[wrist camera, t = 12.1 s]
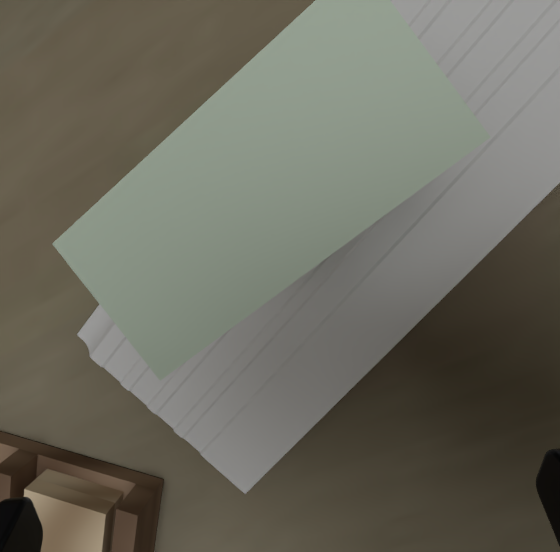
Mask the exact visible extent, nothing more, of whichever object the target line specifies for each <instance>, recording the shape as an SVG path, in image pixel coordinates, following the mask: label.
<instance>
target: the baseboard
mask: <svg viewBox="0 0 560 552" xmlns="http://www.w3.org/2000/svg"><path fill="white" fill-rule="evenodd" d="M390 1H391V2H392V4H393V5H394V6H395V8H396V9H397V10H398V12H399V13H400V14H401V16H402V17H403V19H404V20H405V21H406V23H407V24H408V25H409V27H410V28H411V29H412V31H413V32H414V34H415V35H416V36H417V38H418V39H419V40H420V42H421V43H422V44H423V46H424V47H425V48H426V50H427V51H428V53H429V54H430V55H431V57H432V58H433V59H434V61H435V62H436V63H437V65H438V66H439V67H440V69H441V70H442V72H443V73H444V74H445V76H446V77H447V78H448V80H449V81H450V82H451V84H452V85H453V87H454V88H455V89H456V91H457V92H458V93H459V95H460V96H461V97H462V99H463V100H464V101H465V103H466V104H467V106H468V107H469V108H470V110H471V111H472V112H473V114H474V115H475V116H476V118H477V119H478V121H479V122H480V123H481V125H482V126H483V127H484V129H485V130H486V131H487V133H488V134H489V135H490V138H489V139H488V140H486V141H485V142H484V143H482V144H481V145H480V146H478V147H477V148H475V149H474V150H473V151H471V152H470V153H469V154H467V155H466V156H465V157H463V158H462V159H461V160H459V161H458V162H456V163H455V164H454V165H452V166H451V167H450V168H448V169H447V170H446V171H444V172H443V173H442V174H440V175H439V176H437V177H436V178H435V179H433V180H432V181H431V182H429V183H428V184H427V185H425V186H424V187H423V188H421V189H420V190H418V191H417V192H416V193H414V194H413V195H412V196H410V197H409V198H408V199H406V200H405V201H404V202H402V203H401V204H399V205H398V206H397V207H395V208H394V209H393V210H391V211H390V212H389V213H387V214H386V215H385V216H383V217H382V218H380V219H379V220H378V221H376V222H375V223H374V224H372V225H371V226H370V227H368V228H367V229H366V230H364V231H363V232H361V233H360V234H359V235H357V236H356V237H355V238H353V239H352V240H351V241H349V242H348V243H347V244H345V245H344V246H342V247H341V248H340V249H338V250H337V251H336V252H334V253H333V254H332V255H330V256H329V257H328V258H326V259H325V260H323V261H322V262H321V263H319V264H318V265H317V266H315V267H314V268H313V269H311V270H310V271H309V272H307V273H306V274H304V275H303V276H302V277H300V278H299V279H298V280H296V281H295V282H294V283H292V284H291V285H289V286H288V287H287V288H285V289H284V290H283V291H281V292H280V293H279V294H277V295H276V296H275V297H273V298H272V299H270V300H269V301H268V302H266V303H265V304H264V305H262V306H261V307H260V308H258V309H257V310H256V311H254V312H253V313H251V314H250V315H249V316H247V317H246V318H245V319H243V320H242V321H241V322H239V323H238V324H237V325H235V326H234V327H232V328H231V329H230V330H228V331H227V332H226V333H224V334H223V335H222V336H220V337H219V338H218V339H216V340H215V341H213V342H212V343H211V344H209V345H208V346H207V347H205V348H204V349H203V350H201V351H200V352H199V353H197V354H196V355H194V356H193V357H192V358H190V359H189V360H188V361H186V362H185V363H184V364H182V365H181V366H180V367H178V368H177V369H175V370H174V371H173V372H171V373H170V374H169V375H167V376H166V377H165V378H163V379H162V380H161V381H160V380H159V379H158V378H157V376H156V375H155V374H154V372H153V371H152V370H151V369H150V367H149V366H148V365H147V364H146V362H145V361H144V360H143V359H142V357H141V356H140V355H139V353H138V352H137V351H136V350H135V348H134V347H133V346H132V345H131V343H130V342H129V341H128V339H127V338H126V337H125V336H124V334H123V333H122V332H121V331H120V329H119V328H118V327H117V325H116V324H115V323H114V322H113V320H112V319H111V318H110V317H109V315H108V314H107V313H106V311H105V310H104V309H103V308H102V306H101V305H100V304H99V306H98V307H97V308H96V310H95V311H94V312H93V314H92V315H91V316H90V318H89V319H88V320H87V322H86V323H85V324H84V326H83V327H82V328H81V330H80V331H79V333H78V334H77V335H78V336H79V337H80V338H81V339H82V340H83V341H84V342H85V343H86V345H87V346H88V349H89V354H90V358H91V359H93V360H94V361H95V362H96V363H97V364H98V365H99V366H101V367H103V368H105V369H106V370H107V371H108V372H109V373H110V374H112V375H113V376H114V377H115V378H116V379H117V380H118V381H119V382H120V384H121V385H122V386H123V387H124V388H125V389H127V390H128V391H131V392H132V393H133V394H134V395H135V396H136V397H138V398H139V399H140V400H141V401H142V402H143V403H144V404H146V405H147V408H148V409H149V410H150V411H152V412H153V413H154V414H156V415H158V416H159V417H160V418H161V419H163V420H164V421H165V422H166V423H167V424H168V425H169V426H170V427H172V428H173V430H174V432H175V433H176V434H178V435H179V436H180V437H181V438H184V439H185V440H186V441H187V442H189V443H190V444H191V445H192V446H193V447H194V448H195V449H197V450H198V451H199V452H200V454H201V456H202V457H204V458H205V459H206V460H207V461H208V462H209V463H210V464H212V465H213V466H214V467H215V468H216V469H217V470H218V471H219V472H221V473H222V474H223V475H224V476H225V477H226V478H227V479H229V480H230V481H231V482H232V483H233V484H234V485H235V486H236V487H238V488H239V489H240V490H241V491H242V492H243V493H244V494H246V493H247V492H248V491H249V490H250V489H251V488H252V487H253V486H254V485H255V484H256V483H257V482H258V481H259V480H260V479H261V478H262V477H263V476H264V475H265V474H266V473H267V472H268V471H269V470H270V469H271V468H272V467H273V466H274V465H275V464H276V463H277V462H278V461H279V460H280V459H281V458H282V457H283V456H284V455H285V454H286V453H287V452H288V451H289V450H290V449H291V448H292V447H293V446H294V445H295V444H296V443H297V442H298V441H299V440H300V439H301V438H302V437H303V436H304V435H305V434H306V433H307V432H308V431H309V430H310V429H311V428H312V427H313V426H314V425H315V424H316V423H317V422H318V421H319V420H320V419H321V418H322V417H323V416H324V415H325V414H326V413H327V412H328V411H330V410H331V409H332V408H333V407H334V406H335V405H336V404H337V403H338V402H339V401H340V400H341V399H342V398H343V397H344V396H345V395H346V394H347V393H348V392H349V391H350V390H351V389H352V388H353V387H354V386H355V385H356V384H357V383H358V382H359V381H360V380H361V379H362V378H363V377H364V376H365V375H366V374H367V373H368V372H369V371H370V370H371V369H372V368H373V367H374V366H375V365H376V364H377V363H378V362H379V361H380V360H381V359H382V358H383V357H384V356H385V355H386V354H387V353H388V352H389V351H390V350H391V349H392V348H393V347H394V346H395V345H396V344H397V343H398V342H399V341H400V340H401V339H402V338H403V337H404V336H405V335H406V334H407V333H408V332H409V331H410V330H411V329H412V328H413V327H414V326H415V325H416V324H417V323H418V322H419V321H420V320H421V319H422V318H423V317H424V316H425V315H426V314H427V313H428V312H429V311H430V310H431V309H432V308H433V307H435V306H436V305H437V304H438V303H439V302H440V301H441V300H442V299H443V298H444V297H445V296H446V295H447V294H448V293H449V292H450V291H451V290H452V289H453V288H454V287H455V286H456V285H457V284H458V283H459V282H460V281H461V280H462V279H463V278H464V277H465V276H466V275H467V274H468V273H469V272H470V271H471V270H472V269H473V268H474V267H475V266H476V265H477V264H478V263H479V262H480V261H481V260H482V259H483V258H484V257H485V256H486V255H487V254H488V253H489V252H490V251H491V250H492V249H493V248H494V247H495V246H496V245H497V244H498V243H499V242H500V241H501V240H502V239H503V238H504V237H505V236H506V235H507V234H508V233H509V232H510V231H511V230H512V229H513V228H514V227H515V226H516V225H517V224H518V223H519V222H520V221H521V220H522V219H523V218H524V217H525V216H526V215H527V214H528V213H529V212H530V211H531V210H532V209H533V208H534V207H535V206H536V205H537V204H539V203H540V202H541V201H542V200H543V199H544V198H545V197H546V196H547V195H548V194H549V193H550V192H551V191H552V190H553V189H554V188H555V187H556V186H557V185H558V184H559V183H560V0H390Z"/></svg>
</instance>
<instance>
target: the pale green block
mask: <svg viewBox="0 0 560 552" xmlns="http://www.w3.org/2000/svg"><path fill="white" fill-rule="evenodd" d="M489 138H490V135H489V134H488V133H487V131H486V130H485V129H484V127H483V126H482V125H481V123H480V122H479V121H478V119H477V118H476V116H475V115H474V114H473V112H472V111H471V110H470V108H469V107H468V106H467V104H466V103H465V101H464V100H463V99H462V97H461V96H460V95H459V93H458V92H457V91H456V89H455V88H454V87H453V85H452V84H451V82H450V81H449V80H448V78H447V77H446V76H445V74H444V73H443V72H442V70H441V69H440V67H439V66H438V65H437V63H436V62H435V61H434V59H433V58H432V57H431V55H430V54H429V53H428V51H427V50H426V48H425V47H424V46H423V44H422V43H421V42H420V40H419V39H418V38H417V36H416V35H415V34H414V32H413V31H412V29H411V28H410V27H409V25H408V24H407V23H406V21H405V20H404V19H403V17H402V16H401V14H400V13H399V12H398V10H397V9H396V8H395V6H394V5H393V4H392V2H391V1H390V0H316V1H314V2H313V3H312V4H311V5H310V6H309V7H308V8H307V9H306V10H305V11H304V12H303V13H301V14H300V15H299V16H298V17H297V18H296V19H295V20H294V21H293V22H292V23H291V24H290V25H288V26H287V27H286V28H285V29H284V30H283V31H282V32H281V33H280V34H279V35H278V36H277V37H275V38H274V39H273V40H272V41H271V42H270V43H269V44H268V45H267V46H266V47H265V48H264V49H262V50H261V51H260V52H259V53H258V54H257V55H256V56H255V57H254V58H253V59H252V60H251V61H249V62H248V63H247V64H246V65H245V66H244V67H243V68H242V69H241V70H240V71H239V72H238V73H237V74H235V75H234V76H233V77H232V78H231V79H230V80H229V81H228V82H227V83H226V84H225V85H224V86H222V87H221V88H220V89H219V90H218V91H217V92H216V93H215V94H214V95H213V96H212V97H211V98H209V99H208V100H207V101H206V102H205V103H204V104H203V105H202V106H201V107H200V108H199V109H198V110H196V111H195V112H194V113H193V114H192V115H191V116H190V117H189V118H188V119H187V120H186V121H185V122H183V123H182V124H181V125H180V126H179V127H178V128H177V129H176V130H175V131H174V132H173V133H172V134H171V135H169V136H168V137H167V138H166V139H165V140H164V141H163V142H162V143H161V144H160V145H159V146H158V147H156V148H155V149H154V150H153V151H152V152H151V153H150V154H149V155H148V156H147V157H146V158H145V159H143V160H142V161H141V162H140V163H139V164H138V165H137V166H136V167H135V168H134V169H133V170H132V171H130V172H129V173H128V174H127V175H126V176H125V177H124V178H123V179H122V180H121V181H120V182H119V183H117V184H116V185H115V186H114V187H113V188H112V189H111V190H110V191H109V192H108V193H107V194H106V195H105V196H103V197H102V198H101V199H100V200H99V201H98V202H97V203H96V204H95V205H94V206H93V207H92V208H90V209H89V210H88V211H87V212H86V213H85V214H84V215H83V216H82V217H81V218H80V219H79V220H77V221H76V222H75V223H74V224H73V225H72V226H71V227H70V228H69V229H68V230H67V231H66V232H64V233H63V234H62V235H61V236H60V237H59V238H58V239H57V240H56V241H55V242H54V243H53V245H54V247H55V248H56V249H57V251H58V252H59V253H60V254H61V256H62V257H63V258H64V259H65V261H66V262H67V263H68V264H69V266H70V267H71V268H72V270H73V271H74V272H75V273H76V275H77V276H78V277H79V278H80V280H81V281H82V282H83V284H84V285H85V286H86V287H87V289H88V290H89V291H90V292H91V294H92V295H93V296H94V298H95V299H96V300H97V301H98V303H99V304H100V305H101V306H102V308H103V309H104V310H105V311H106V313H107V314H108V315H109V317H110V318H111V319H112V320H113V322H114V323H115V324H116V325H117V327H118V328H119V329H120V331H121V332H122V333H123V334H124V336H125V337H126V338H127V339H128V341H129V342H130V343H131V345H132V346H133V347H134V348H135V350H136V351H137V352H138V353H139V355H140V356H141V357H142V359H143V360H144V361H145V362H146V364H147V365H148V366H149V367H150V369H151V370H152V371H153V372H154V374H155V375H156V376H157V378H158V379H159V380H160V381H161V380H162V379H163V378H165V377H166V376H167V375H169V374H170V373H171V372H173V371H174V370H175V369H177V368H178V367H180V366H181V365H182V364H184V363H185V362H186V361H188V360H189V359H190V358H192V357H193V356H194V355H196V354H197V353H199V352H200V351H201V350H203V349H204V348H205V347H207V346H208V345H209V344H211V343H212V342H213V341H215V340H216V339H218V338H219V337H220V336H222V335H223V334H224V333H226V332H227V331H228V330H230V329H231V328H232V327H234V326H235V325H237V324H238V323H239V322H241V321H242V320H243V319H245V318H246V317H247V316H249V315H250V314H251V313H253V312H254V311H256V310H257V309H258V308H260V307H261V306H262V305H264V304H265V303H266V302H268V301H269V300H270V299H272V298H273V297H275V296H276V295H277V294H279V293H280V292H281V291H283V290H284V289H285V288H287V287H288V286H289V285H291V284H292V283H294V282H295V281H296V280H298V279H299V278H300V277H302V276H303V275H304V274H306V273H307V272H309V271H310V270H311V269H313V268H314V267H315V266H317V265H318V264H319V263H321V262H322V261H323V260H325V259H326V258H328V257H329V256H330V255H332V254H333V253H334V252H336V251H337V250H338V249H340V248H341V247H342V246H344V245H345V244H347V243H348V242H349V241H351V240H352V239H353V238H355V237H356V236H357V235H359V234H360V233H361V232H363V231H364V230H366V229H367V228H368V227H370V226H371V225H372V224H374V223H375V222H376V221H378V220H379V219H380V218H382V217H383V216H385V215H386V214H387V213H389V212H390V211H391V210H393V209H394V208H395V207H397V206H398V205H399V204H401V203H402V202H404V201H405V200H406V199H408V198H409V197H410V196H412V195H413V194H414V193H416V192H417V191H418V190H420V189H421V188H423V187H424V186H425V185H427V184H428V183H429V182H431V181H432V180H433V179H435V178H436V177H437V176H439V175H440V174H442V173H443V172H444V171H446V170H447V169H448V168H450V167H451V166H452V165H454V164H455V163H456V162H458V161H459V160H461V159H462V158H463V157H465V156H466V155H467V154H469V153H470V152H471V151H473V150H474V149H475V148H477V147H478V146H480V145H481V144H482V143H484V142H485V141H486V140H488V139H489Z"/></svg>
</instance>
